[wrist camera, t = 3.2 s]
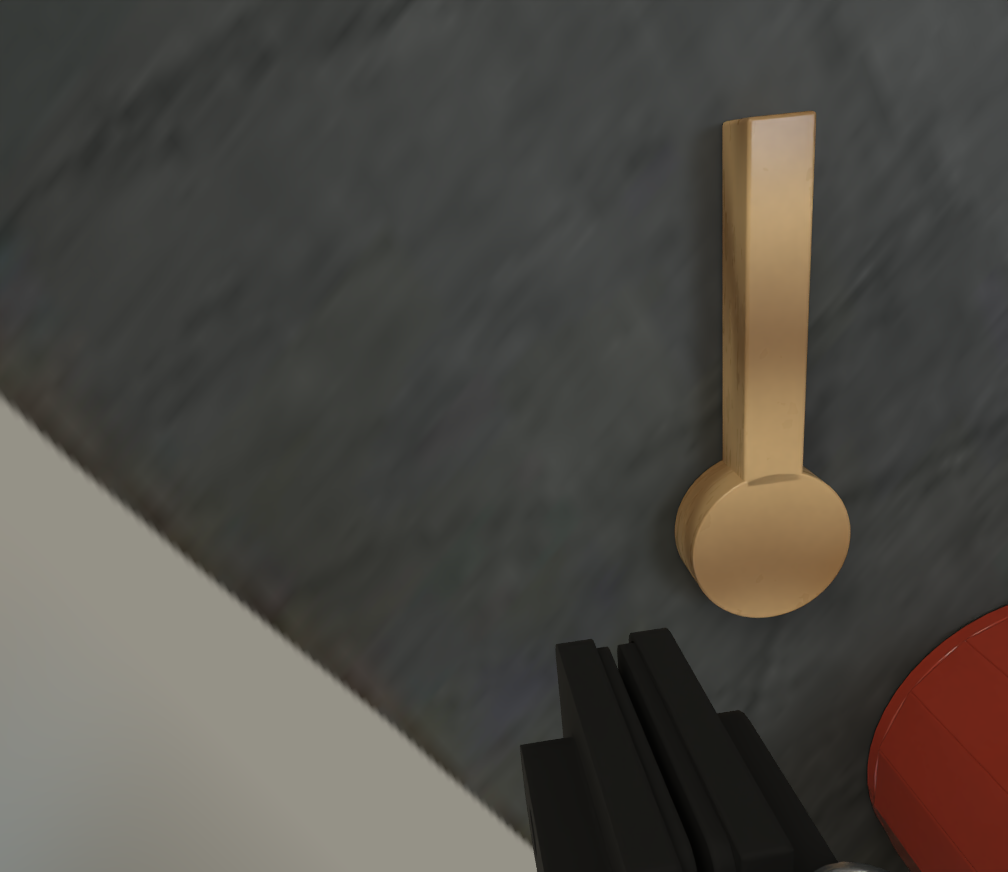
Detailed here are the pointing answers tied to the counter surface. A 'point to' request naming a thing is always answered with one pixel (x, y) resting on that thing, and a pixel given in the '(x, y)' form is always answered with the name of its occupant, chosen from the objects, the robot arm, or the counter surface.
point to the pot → (948, 755)
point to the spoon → (764, 390)
